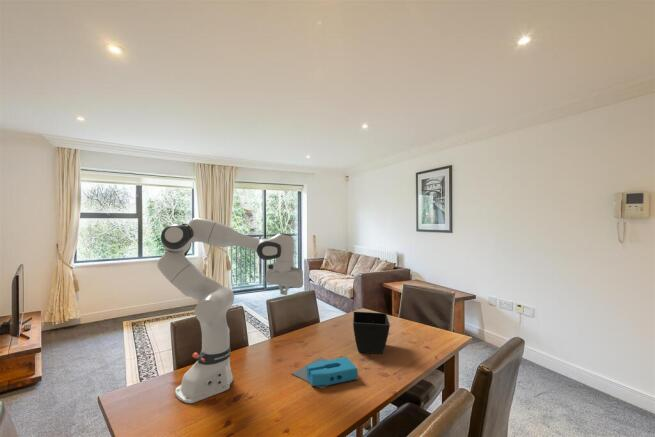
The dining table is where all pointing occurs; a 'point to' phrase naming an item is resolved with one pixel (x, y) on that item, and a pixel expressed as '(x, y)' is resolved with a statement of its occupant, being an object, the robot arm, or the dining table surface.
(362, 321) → the flower pot
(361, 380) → the dining table surface
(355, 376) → the block
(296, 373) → the charcoal mat
